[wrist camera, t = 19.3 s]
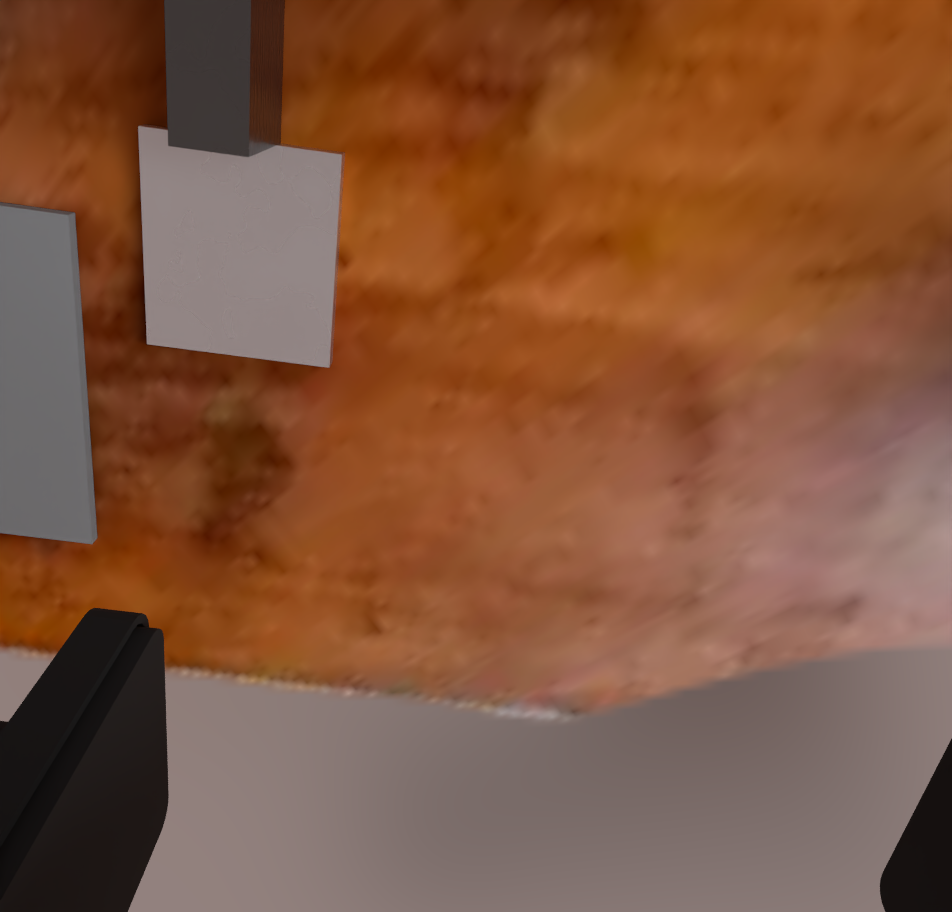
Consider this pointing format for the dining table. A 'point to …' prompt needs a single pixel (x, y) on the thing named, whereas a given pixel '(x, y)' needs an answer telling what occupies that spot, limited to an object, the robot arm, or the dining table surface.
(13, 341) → the mat
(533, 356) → the dining table surface
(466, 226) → the dining table surface
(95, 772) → the robot arm
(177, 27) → the trowel
